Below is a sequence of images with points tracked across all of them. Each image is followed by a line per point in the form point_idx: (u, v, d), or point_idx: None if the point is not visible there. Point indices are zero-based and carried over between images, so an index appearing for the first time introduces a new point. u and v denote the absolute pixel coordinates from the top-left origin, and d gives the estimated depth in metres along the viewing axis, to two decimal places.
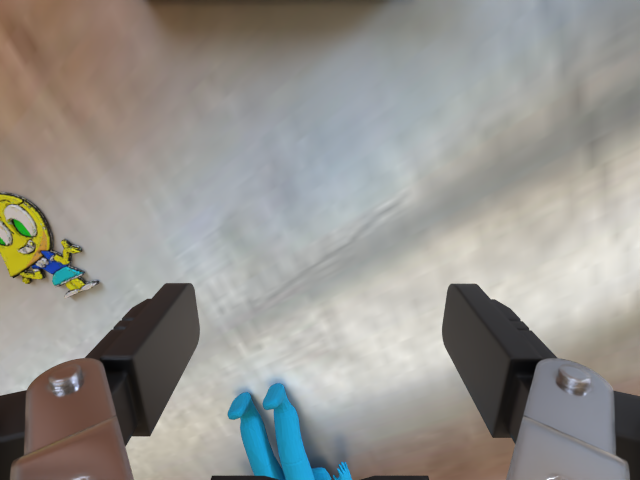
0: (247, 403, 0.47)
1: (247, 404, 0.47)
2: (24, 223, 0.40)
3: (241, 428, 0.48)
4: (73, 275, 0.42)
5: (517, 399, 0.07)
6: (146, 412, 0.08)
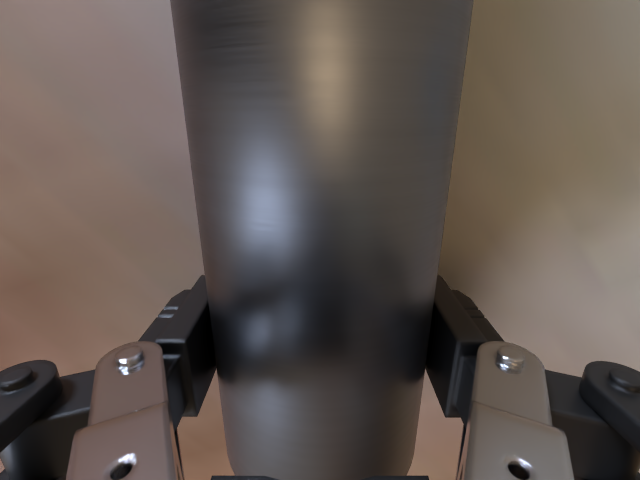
0: None
1: None
2: None
3: None
4: None
5: (464, 380, 0.08)
6: (194, 394, 0.08)
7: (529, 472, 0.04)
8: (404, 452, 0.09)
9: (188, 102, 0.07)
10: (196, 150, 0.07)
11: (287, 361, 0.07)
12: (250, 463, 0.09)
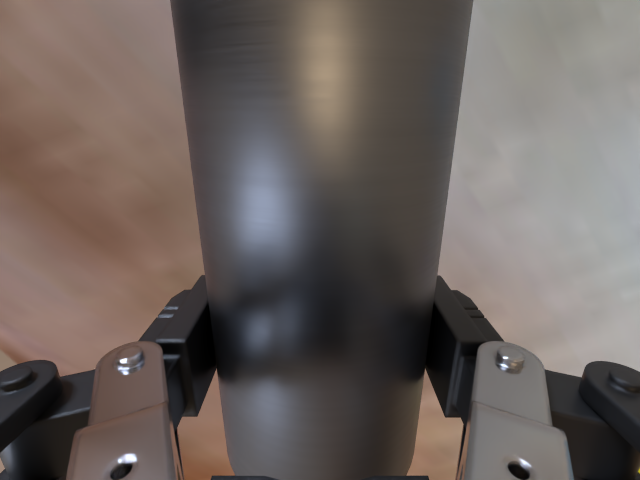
0: None
1: None
2: None
3: None
4: None
5: (464, 380, 0.08)
6: (194, 394, 0.08)
7: (529, 472, 0.04)
8: (404, 451, 0.09)
9: (188, 102, 0.07)
10: (196, 150, 0.07)
11: (287, 361, 0.07)
12: (250, 462, 0.09)
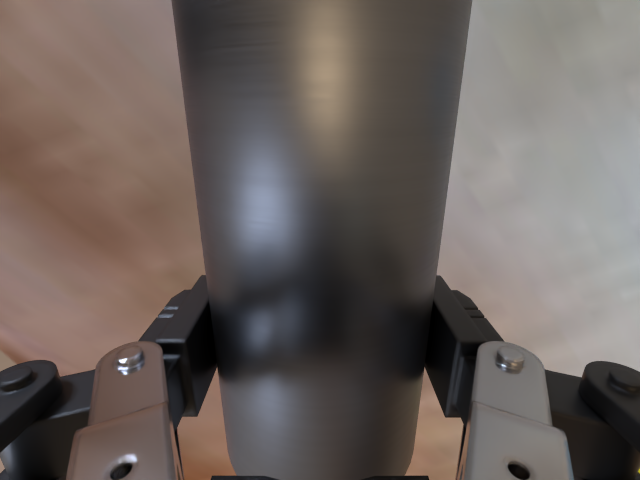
0: None
1: None
2: None
3: None
4: None
5: (464, 380, 0.08)
6: (194, 393, 0.08)
7: (529, 472, 0.04)
8: (403, 449, 0.09)
9: (189, 102, 0.07)
10: (197, 149, 0.07)
11: (287, 358, 0.07)
12: (251, 460, 0.09)
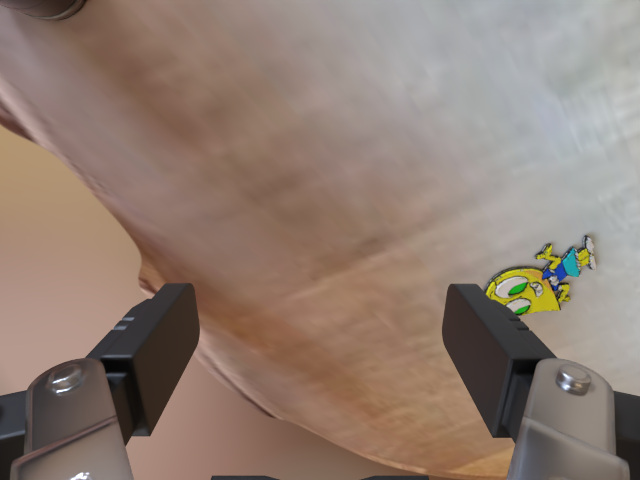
0: None
1: None
2: (515, 284, 0.44)
3: None
4: (574, 256, 0.43)
5: (517, 399, 0.07)
6: (145, 412, 0.08)
7: None
8: None
9: None
10: None
11: None
12: None
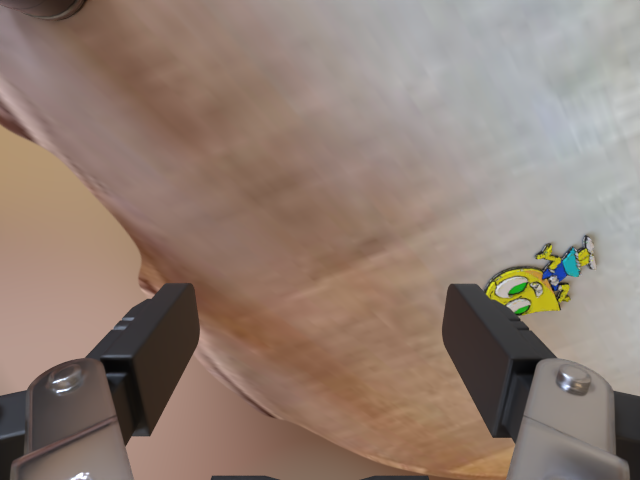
0: None
1: None
2: (515, 284, 0.44)
3: None
4: (574, 256, 0.43)
5: (517, 399, 0.07)
6: (145, 412, 0.08)
7: None
8: None
9: None
10: None
11: None
12: None
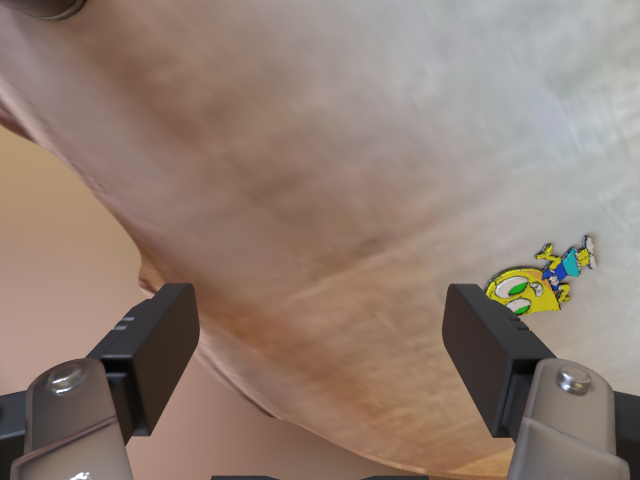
0: None
1: None
2: (515, 284, 0.44)
3: None
4: (574, 256, 0.43)
5: (517, 399, 0.07)
6: (145, 412, 0.08)
7: None
8: None
9: None
10: None
11: None
12: None
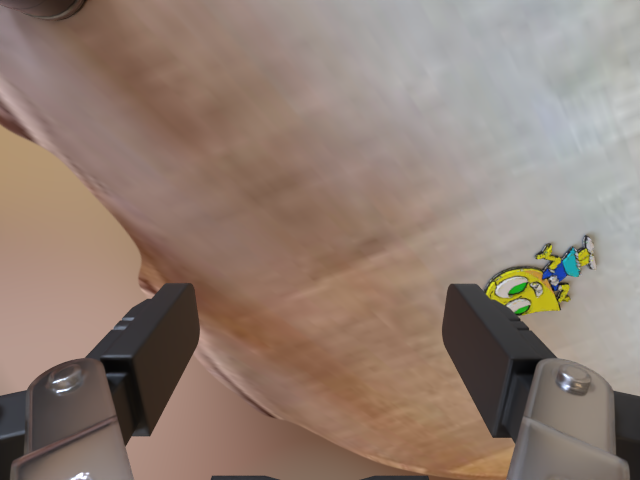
0: None
1: None
2: (515, 284, 0.44)
3: None
4: (574, 256, 0.43)
5: (517, 399, 0.07)
6: (145, 412, 0.08)
7: None
8: None
9: None
10: None
11: None
12: None
